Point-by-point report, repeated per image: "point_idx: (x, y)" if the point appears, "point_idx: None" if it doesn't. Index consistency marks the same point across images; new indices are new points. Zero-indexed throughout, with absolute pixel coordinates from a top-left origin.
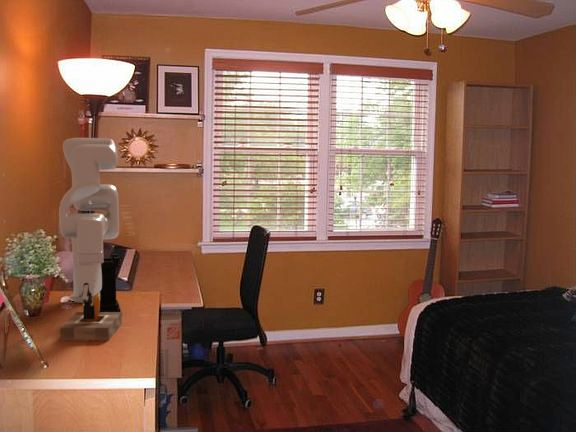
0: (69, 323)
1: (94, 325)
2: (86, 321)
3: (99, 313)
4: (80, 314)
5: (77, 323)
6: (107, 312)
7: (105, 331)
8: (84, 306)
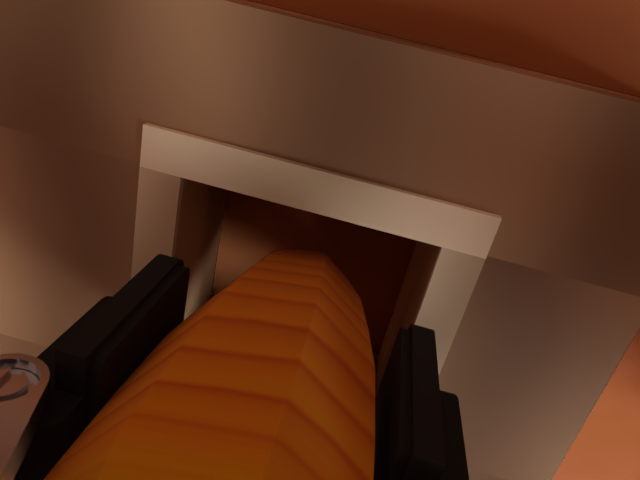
0: (147, 56)
1: (61, 332)
2: (271, 252)
3: (527, 401)
4: (572, 184)
5: (140, 160)
6: (537, 476)
7: None
8: (8, 368)
